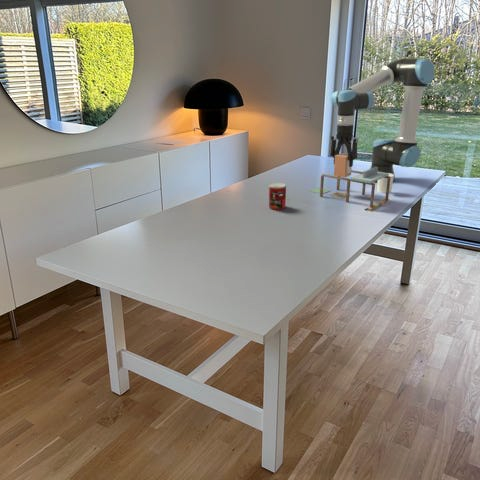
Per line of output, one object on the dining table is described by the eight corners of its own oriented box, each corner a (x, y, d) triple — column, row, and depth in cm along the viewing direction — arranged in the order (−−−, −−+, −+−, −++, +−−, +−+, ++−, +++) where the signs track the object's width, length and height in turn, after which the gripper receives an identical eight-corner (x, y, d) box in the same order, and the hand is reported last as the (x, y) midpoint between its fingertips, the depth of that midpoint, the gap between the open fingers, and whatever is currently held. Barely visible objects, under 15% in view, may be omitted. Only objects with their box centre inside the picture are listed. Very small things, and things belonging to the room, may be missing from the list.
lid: (369, 172, 231) (370, 164, 230) (388, 175, 225) (389, 167, 224) (350, 179, 218) (351, 171, 217) (370, 183, 212) (371, 174, 211)
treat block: (340, 173, 236) (341, 153, 232) (350, 174, 232) (352, 154, 228) (333, 175, 232) (334, 155, 228) (344, 177, 228) (345, 157, 224)
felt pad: (317, 188, 248) (317, 187, 248) (330, 190, 243) (330, 190, 243) (308, 191, 242) (308, 190, 242) (322, 194, 237) (322, 193, 237)
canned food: (266, 208, 220) (266, 186, 216) (273, 204, 227) (273, 182, 223) (281, 211, 217) (281, 188, 213) (287, 206, 223) (288, 183, 219)
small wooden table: (322, 187, 253) (323, 164, 248) (389, 201, 229) (392, 176, 225) (301, 196, 239) (302, 171, 234) (370, 211, 216) (372, 184, 211)
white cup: (388, 196, 237) (390, 177, 233) (373, 194, 241) (375, 175, 238) (394, 193, 243) (396, 174, 239) (379, 190, 247) (381, 172, 243)
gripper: (323, 123, 226) (321, 170, 234) (359, 127, 214) (356, 176, 223) (332, 121, 231) (329, 167, 240) (367, 124, 219) (363, 173, 228)
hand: (342, 171), depth 231 cm, fingers closed on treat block, 6 cm apart
